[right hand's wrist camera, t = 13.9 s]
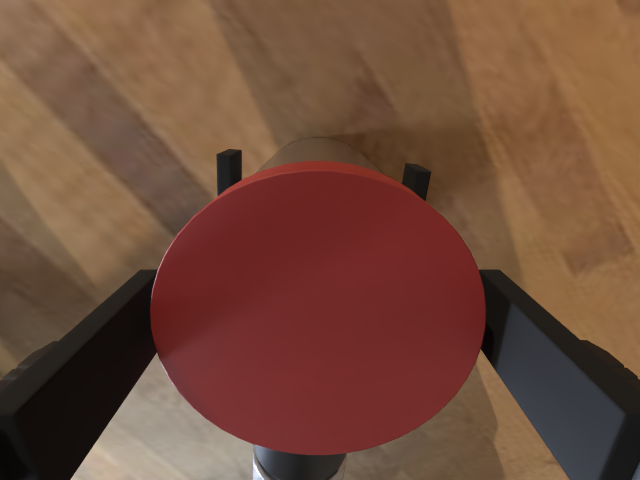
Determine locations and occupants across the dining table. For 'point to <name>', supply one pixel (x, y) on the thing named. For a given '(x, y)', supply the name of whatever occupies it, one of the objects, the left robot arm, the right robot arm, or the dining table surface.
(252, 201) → the lid
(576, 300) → the dining table surface
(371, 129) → the dining table surface
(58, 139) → the dining table surface
